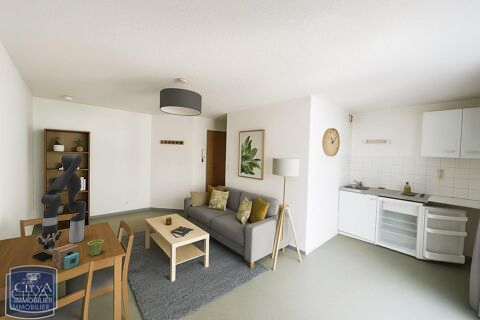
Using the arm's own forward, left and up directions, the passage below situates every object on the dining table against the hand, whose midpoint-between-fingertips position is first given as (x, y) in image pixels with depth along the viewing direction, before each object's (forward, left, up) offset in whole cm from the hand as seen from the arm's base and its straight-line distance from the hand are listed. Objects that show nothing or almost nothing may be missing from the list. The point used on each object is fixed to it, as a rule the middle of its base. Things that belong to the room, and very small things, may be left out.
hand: (48, 248), depth 134 cm
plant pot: (+21, +17, -7) cm, 28 cm away
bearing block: (+18, 0, -7) cm, 20 cm away
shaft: (+9, 0, -1) cm, 9 cm away
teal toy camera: (+24, 0, -7) cm, 25 cm away
